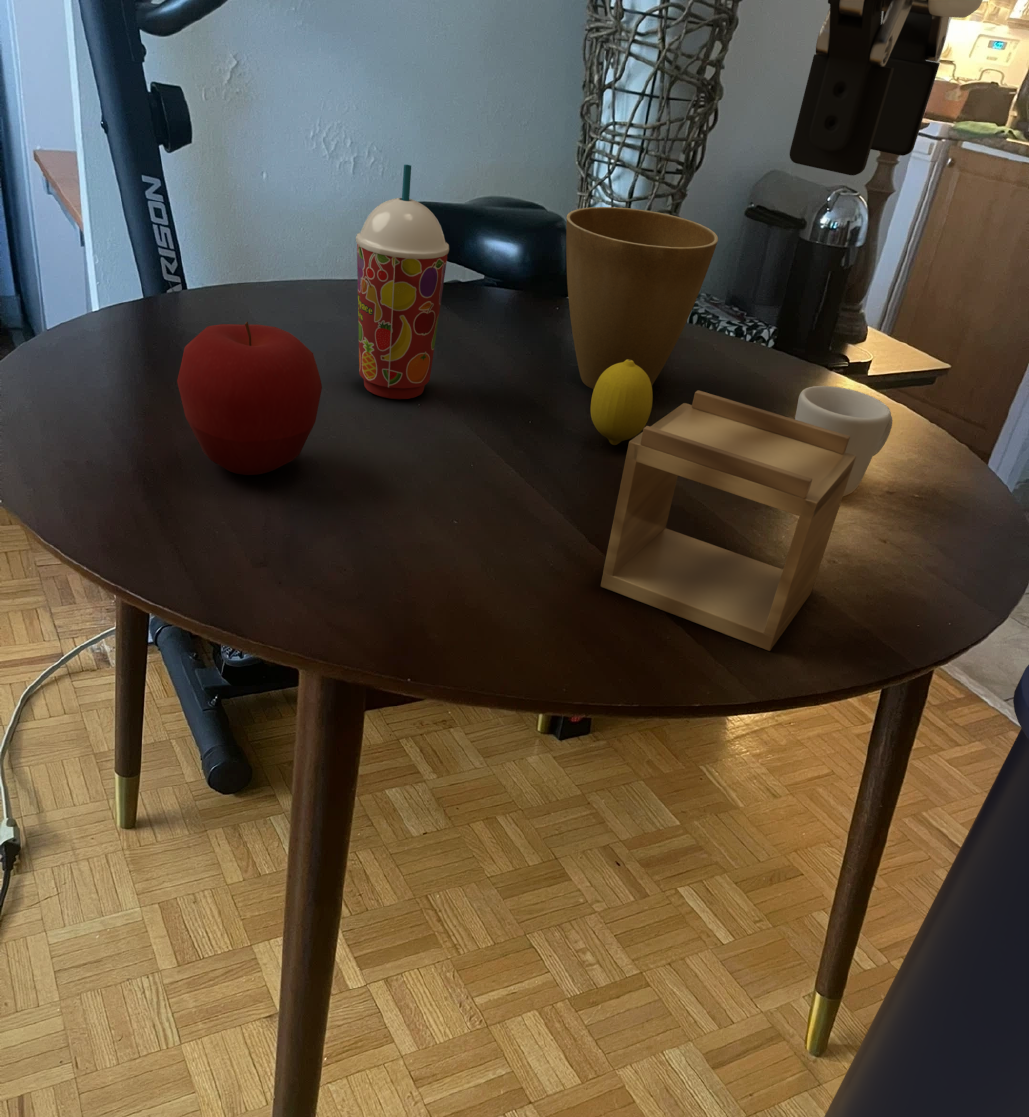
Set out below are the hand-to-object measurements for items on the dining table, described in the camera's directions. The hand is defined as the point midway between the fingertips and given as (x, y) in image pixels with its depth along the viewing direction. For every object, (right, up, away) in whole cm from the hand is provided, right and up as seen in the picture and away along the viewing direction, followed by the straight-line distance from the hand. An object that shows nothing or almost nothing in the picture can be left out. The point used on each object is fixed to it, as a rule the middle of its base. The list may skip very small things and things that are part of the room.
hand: (853, 158), depth 49 cm
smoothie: (-27, +4, +55) cm, 61 cm away
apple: (-37, -7, +37) cm, 53 cm away
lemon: (-6, -2, +51) cm, 51 cm away
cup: (+14, -6, +49) cm, 51 cm away
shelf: (-1, -17, +30) cm, 34 cm away
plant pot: (-5, +8, +64) cm, 65 cm away
